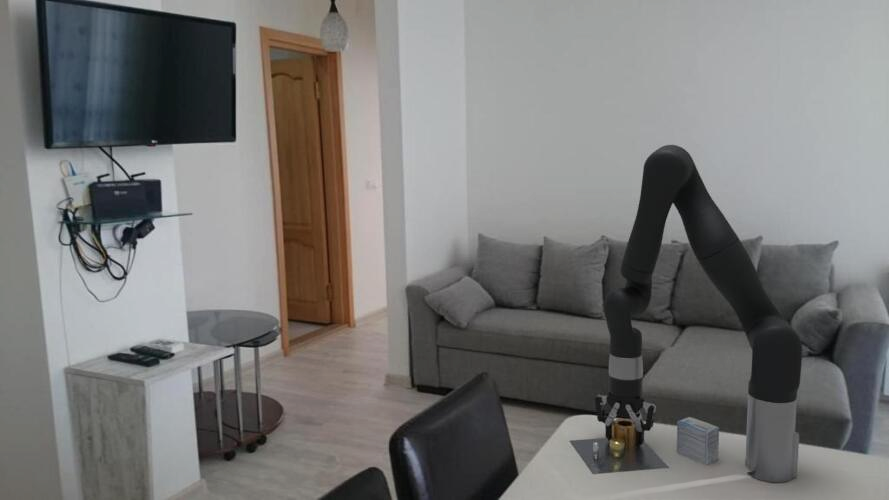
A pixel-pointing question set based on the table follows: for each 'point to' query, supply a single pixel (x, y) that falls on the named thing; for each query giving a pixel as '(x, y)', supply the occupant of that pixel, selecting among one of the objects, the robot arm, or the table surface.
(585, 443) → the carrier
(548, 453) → the table surface
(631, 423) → the planet gear
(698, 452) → the medicine box
